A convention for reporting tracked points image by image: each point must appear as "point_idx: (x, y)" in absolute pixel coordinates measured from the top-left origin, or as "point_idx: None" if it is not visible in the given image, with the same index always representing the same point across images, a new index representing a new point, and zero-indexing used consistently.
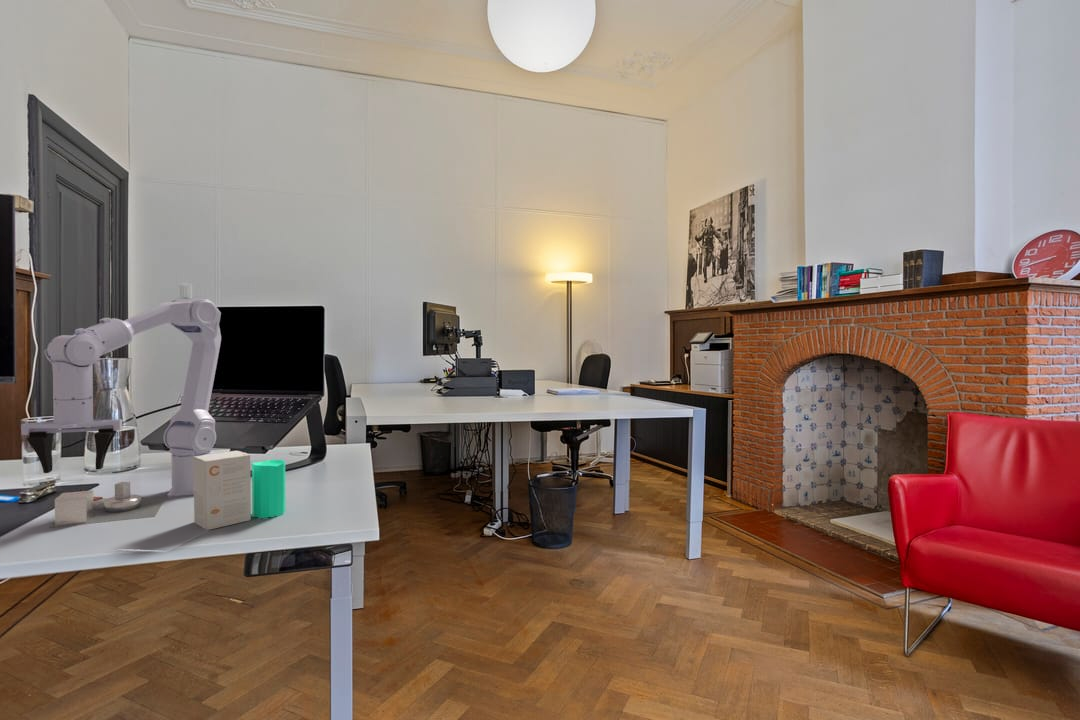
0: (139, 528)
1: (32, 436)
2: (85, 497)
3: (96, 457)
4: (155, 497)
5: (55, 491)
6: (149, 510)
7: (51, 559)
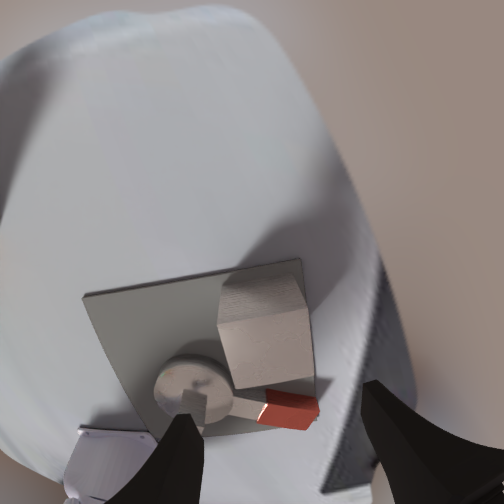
0: (75, 217)
1: (491, 492)
2: (219, 321)
3: (171, 451)
4: None
5: (373, 468)
6: (120, 350)
7: (175, 20)
